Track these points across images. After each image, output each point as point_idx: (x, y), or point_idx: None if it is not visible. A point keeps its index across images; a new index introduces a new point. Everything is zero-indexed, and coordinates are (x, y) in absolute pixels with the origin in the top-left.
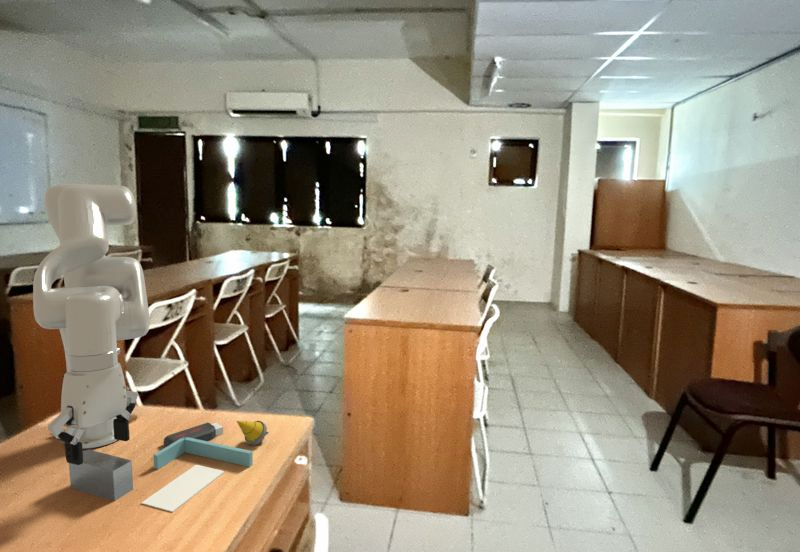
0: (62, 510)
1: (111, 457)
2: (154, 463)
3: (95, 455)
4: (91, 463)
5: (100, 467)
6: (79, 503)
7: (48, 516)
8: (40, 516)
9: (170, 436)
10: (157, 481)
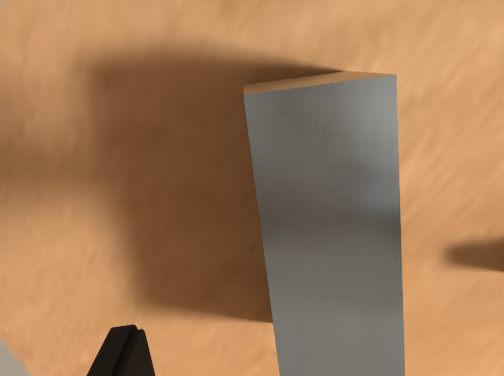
0: (137, 218)
1: (383, 300)
2: None
3: (357, 201)
4: (282, 270)
5: (279, 347)
6: (198, 229)
7: (87, 211)
8: (69, 185)
9: None
10: (440, 341)
